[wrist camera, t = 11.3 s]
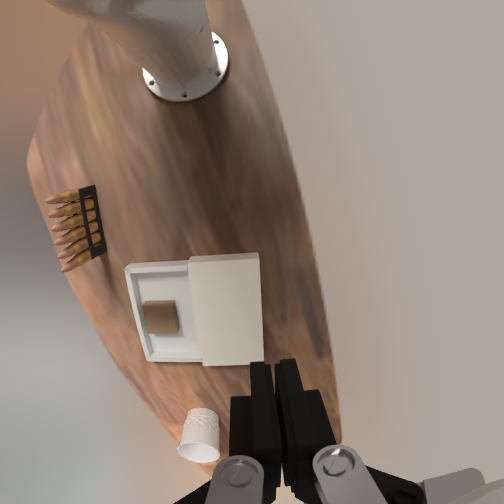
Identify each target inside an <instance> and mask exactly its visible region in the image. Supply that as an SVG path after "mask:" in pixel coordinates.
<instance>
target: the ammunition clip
mask: <svg viewBox="0 0 504 504" xmlns="http://www.w3.org/2000/svg"><path fill="white" fill-rule="evenodd" d="M77 200H80V201H77ZM75 201H77V202H75ZM69 202H71V203H69ZM46 203H48V204H58V203H69V204H66V205H64V206H63V207H60V208H57V209H55V210H53V211H52V212H51V213H50V214H49V215H48V216H49V217H50V218H59V217H63V216H70V215H73V216H71V217H68V218H67V219H65V220H63V221H62V222H59V223H57V224H56V225H55V226H53V228H52V229H51V231H53V232H60V231H63V230H67V229H72V228H74V229H72V230H70V231H69V232H68V233H66V234H64V235H63V236H61V237H59V238H58V239H57V240H56V241H55V243H54V245H57V246H59V245H64V244H66V243H69V242H74V241H75V242H74V243H72V244H71V245H70V246H68V247H67V248H65V249H64V250H63V251H61V253H60V254H59V255H58V259H64V258H67V257H69V256H72V255H74V254H77V253H78V254H77V255H75V256H74V258H72V259H71V260H70V261H68V262H67V263H66V264H65V265H64V266H63V268H62V270H61V272H68V271H70V270H72V269H74V268H76V267H78V266H81V265H83V264H84V263H86V262H87V261H89V260H90V259H93V258H95V257H97V256H99V255H101V254H103V253H104V252H106V251H107V247H106V242H105V238H104V233H103V228H102V223H101V218H100V212H99V207H98V201H97V194H96V188H95V185H92V186H88V187H84V188H79V189H74V190H68V191H64V192H62V193H59V194H56V195H53V196H51V197H49V198H48V199H47V200H46ZM80 212H82V213H80ZM77 213H80V214H77ZM82 224H84V225H82ZM80 225H81V226H80ZM86 235H87V236H86ZM84 236H85V237H84ZM82 237H83V238H82ZM76 240H77V241H76ZM79 252H80V253H79Z"/></svg>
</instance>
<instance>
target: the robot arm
mask: <svg viewBox="0 0 504 504" xmlns="http://www.w3.org/2000/svg"><path fill="white" fill-rule="evenodd" d="M46 1H47V2H48V3H50V4H51V5H52V6H54V7H55V8H57V9H58V10H60V11H62V12H64V13H66V14H68V15H71V16H73V17H76V18H79V19H81V20H84V21H86V22H89V23H91V24H93V25H95V26H97V27H98V28H100V29H101V30H103V31H104V32H106V33H107V34H108V35H109V36H110V37H111V38H113V39H114V40H115V41H116V42H117V43H118V44H119V45H120V46H121V47H122V48H123V49H124V50H125V51H126V52H127V53H128V54H129V55H131V56H132V57H133V58H134V59H135V60H136V61H137V62H138V63H139V64H140V65H141V66H142V67H143V69H142V70H143V78H144V81H145V83H146V85H147V86H148V88H149V89H150V90H151V91H152V92H153V93H154V94H156V95H157V96H158V97H160V98H162V99H165V100H168V101H173V102H185V101H191V100H195V99H198V98H200V97H202V96H204V95H206V94H208V93H209V92H211V91H212V90H213V89H214V88H215V87H216V86H218V84H219V83H220V82H221V81H222V79H223V77H224V75H225V74H226V71H227V68H228V52H227V49H226V46H225V44H224V43H223V41H222V40H221V39H220V38H219V37H218V36H217V35H216V34H214V33H213V32H212V31H211V26H210V22H209V17H208V13H207V8H206V4H205V0H46ZM217 43H218V44H217ZM218 74H219V75H220V76H218V77H217V75H218ZM153 83H154V85H153V86H152V84H153ZM185 95H187V97H185V98H184V96H185ZM250 380H251V396H235V397H231V406H230V439H229V457H227V458H225V459H223V460H222V461H220V462H219V463H218V464H217V465H216V467H215V469H214V472H213V476H212V479H211V480H210V481H208V482H207V483H205V484H204V485H202V486H201V487H199V488H198V489H196V490H195V491H193V492H192V493H190V494H188V495H187V496H185V497H184V498H182V499H180V500H179V501H177V502H175V503H174V504H271V503H272V502H273V501H275V500H276V487H280V484H281V463H282V469H283V476H284V483H285V486H291V492H292V493H293V492H294V494H295V497H296V498H298V499H299V500H301V501H303V502H304V504H504V479H500V480H497V481H494V482H490V483H488V484H485V481H484V478H483V475H482V474H481V472H480V471H479V470H477V469H474V468H468V469H464V470H461V471H458V472H454V473H450V474H447V475H443V476H439V477H435V478H430V479H426V480H423V481H422V482H420V483H414V482H411V481H408V480H405V479H402V478H399V477H396V476H393V475H390V474H387V473H384V472H381V471H379V470H376V469H373V468H371V467H368V466H366V465H364V463H363V462H362V460H361V458H360V456H359V455H358V454H357V452H356V451H355V450H353V449H352V448H350V447H348V446H344V445H337V444H336V441H335V438H334V434H333V431H332V428H331V425H330V422H329V419H328V416H327V413H326V410H325V407H324V403H323V400H322V397H321V394H320V392H319V390H318V389H315V390H308V391H304V389H303V386H302V382H301V378H300V374H299V371H298V367H297V363H296V360H295V358H293V359H282V360H280V364H275V393H274V386H273V379H272V372H271V365H270V364H268V365H265V363H264V361H257V362H250Z"/></svg>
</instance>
